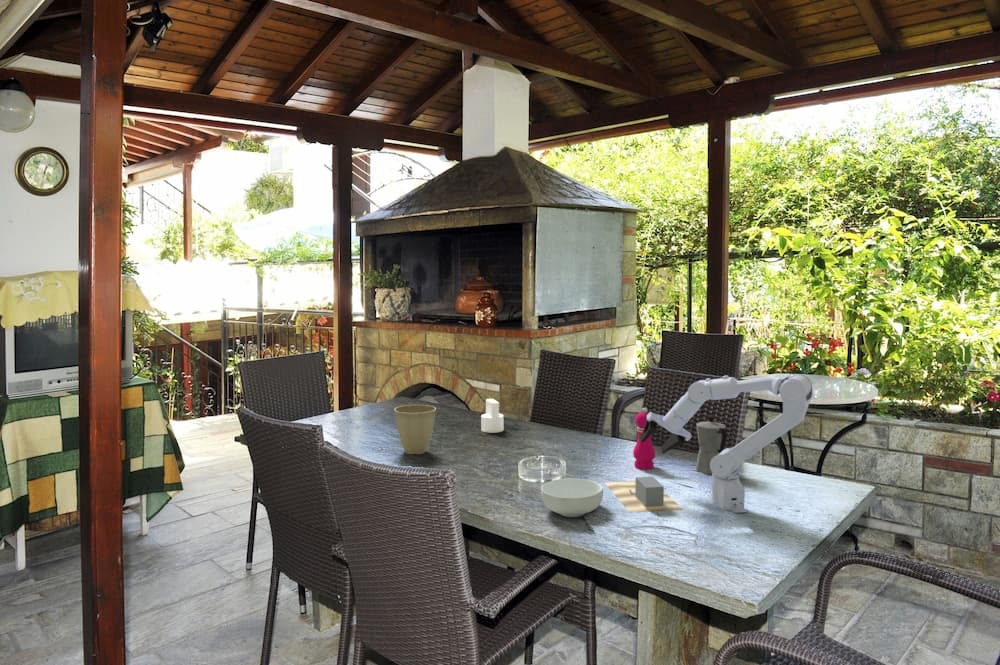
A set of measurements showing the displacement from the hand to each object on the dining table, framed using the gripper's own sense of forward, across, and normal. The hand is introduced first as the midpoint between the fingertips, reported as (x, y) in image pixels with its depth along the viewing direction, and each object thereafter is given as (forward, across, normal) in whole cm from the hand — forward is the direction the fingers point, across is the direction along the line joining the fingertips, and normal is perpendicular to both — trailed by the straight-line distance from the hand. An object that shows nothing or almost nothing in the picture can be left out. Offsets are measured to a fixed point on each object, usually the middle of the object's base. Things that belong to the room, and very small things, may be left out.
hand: (651, 445), depth 209 cm
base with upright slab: (+64, +18, -66) cm, 94 cm away
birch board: (+11, -2, +11) cm, 16 cm away
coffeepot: (+6, -32, -13) cm, 35 cm away
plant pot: (+67, +48, -36) cm, 89 cm away
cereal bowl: (+19, +17, +20) cm, 33 cm away
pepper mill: (+19, -15, -18) cm, 30 cm away
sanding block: (+7, -1, +17) cm, 18 cm away
